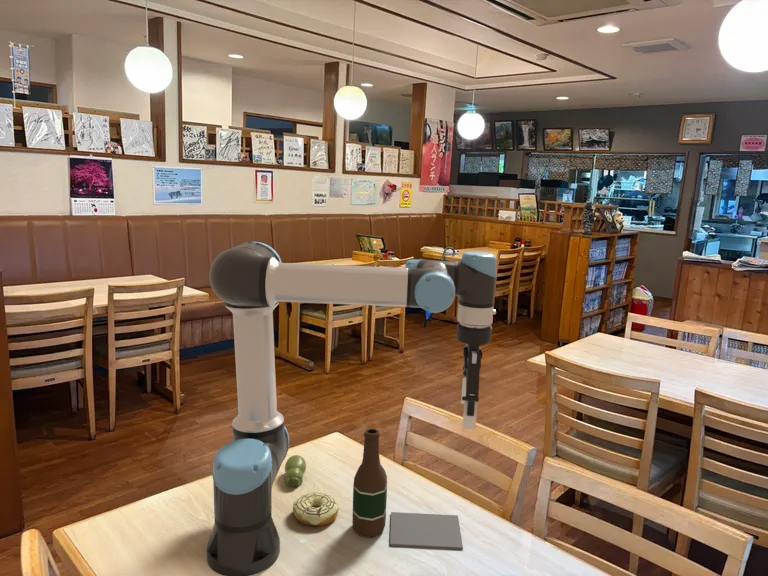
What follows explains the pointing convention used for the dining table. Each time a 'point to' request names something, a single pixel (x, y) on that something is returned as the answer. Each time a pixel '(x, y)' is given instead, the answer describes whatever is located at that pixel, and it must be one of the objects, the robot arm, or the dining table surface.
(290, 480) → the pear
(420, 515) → the mat
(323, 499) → the decorated donut
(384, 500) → the beer bottle
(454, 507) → the dining table surface
